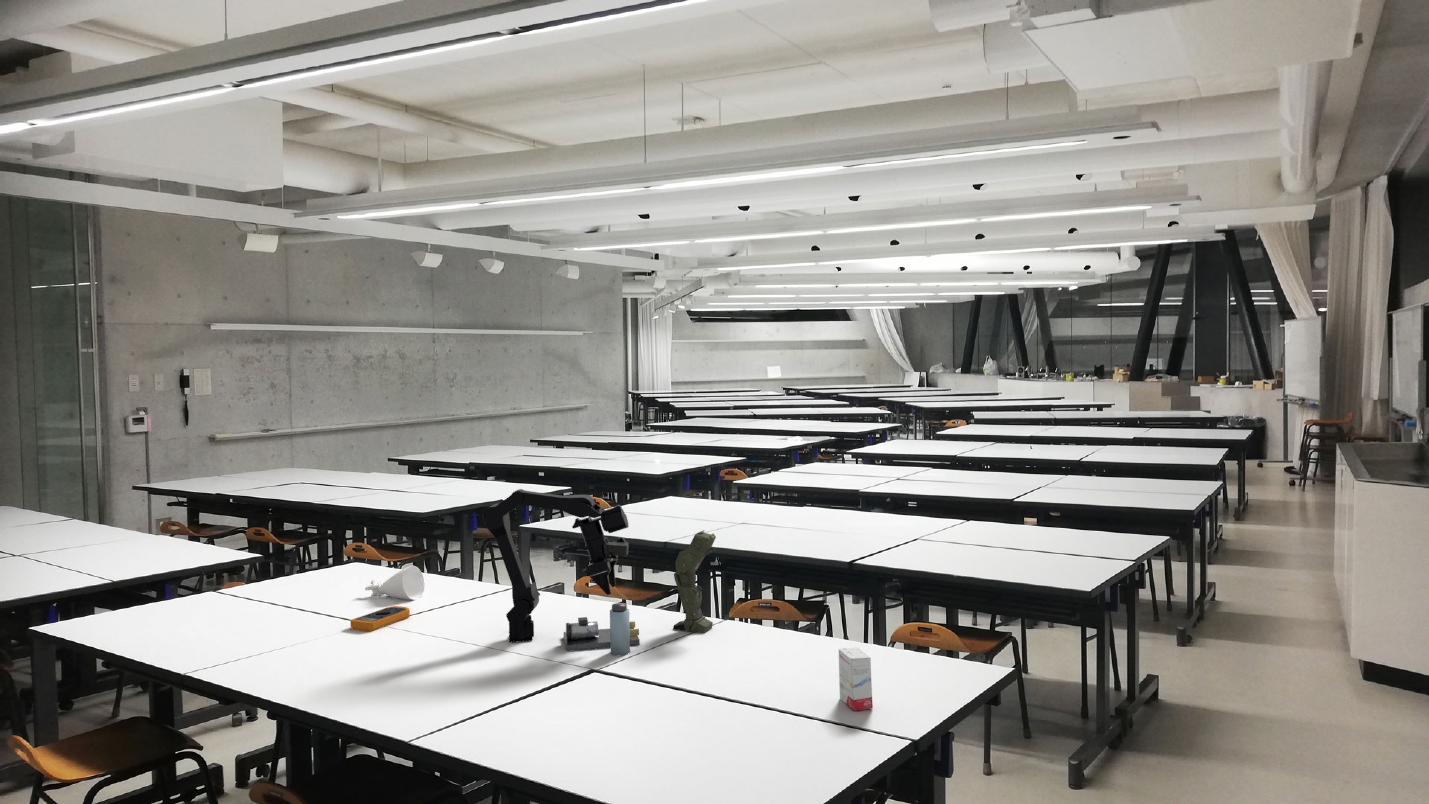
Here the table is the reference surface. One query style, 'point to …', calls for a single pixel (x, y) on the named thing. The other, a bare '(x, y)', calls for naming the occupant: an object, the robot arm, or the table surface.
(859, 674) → the ink box
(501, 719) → the table surface
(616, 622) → the bottle
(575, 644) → the plate
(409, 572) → the rocket engine
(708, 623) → the mechanical leg
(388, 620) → the multimeter
